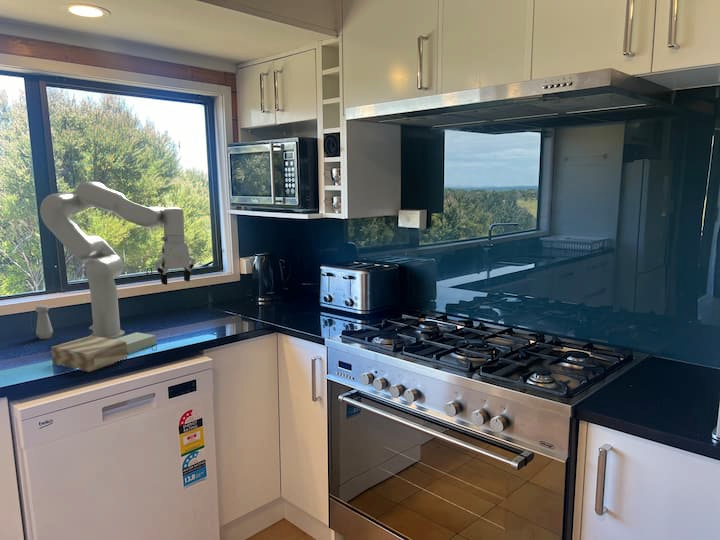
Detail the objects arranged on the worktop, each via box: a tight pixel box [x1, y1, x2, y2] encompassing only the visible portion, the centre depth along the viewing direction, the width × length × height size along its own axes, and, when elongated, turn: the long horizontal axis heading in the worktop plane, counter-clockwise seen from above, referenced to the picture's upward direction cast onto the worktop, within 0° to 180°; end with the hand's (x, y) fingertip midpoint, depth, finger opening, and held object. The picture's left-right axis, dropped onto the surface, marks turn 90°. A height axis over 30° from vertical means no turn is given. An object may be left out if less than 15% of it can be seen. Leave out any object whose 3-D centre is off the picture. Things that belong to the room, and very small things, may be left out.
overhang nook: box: [51, 335, 128, 373], centre depth 183 cm, size 18×15×6 cm
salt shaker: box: [35, 304, 54, 340], centre depth 211 cm, size 6×6×13 cm
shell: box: [113, 331, 157, 354], centre depth 198 cm, size 10×13×4 cm
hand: (175, 282), depth 211 cm, fingers open, 9 cm apart
